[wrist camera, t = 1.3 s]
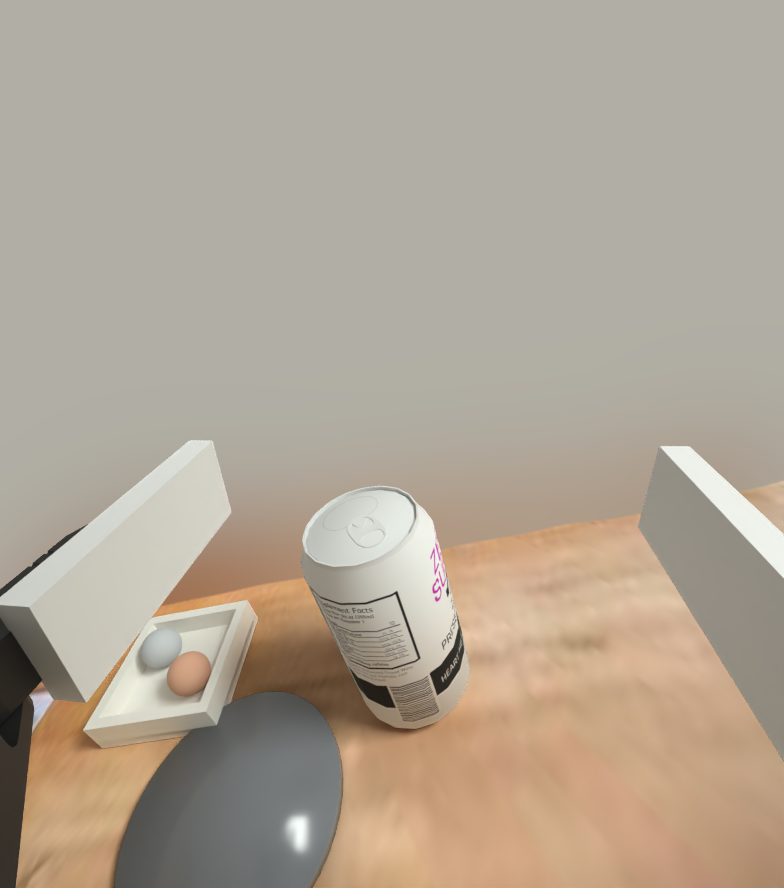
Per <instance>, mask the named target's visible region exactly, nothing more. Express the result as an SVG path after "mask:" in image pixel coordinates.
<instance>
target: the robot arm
mask: <svg viewBox="0 0 784 888" xmlns="http://www.w3.org/2000/svg"><path fill="white" fill-rule="evenodd" d="M230 514H231V508H230V504H229V501H228V497H227V493H226V489H225V486H224V482H223V478H222V474H221V470H220V467H219V463H218V460H217V455H216V452H215V448H214V444H213V441H208V440H203V441H202V440H200V441H199V440H190V441H188V442H187V443H186V444H185V445H184V446H183V447H181V448H180V449H179V450H178V451H176V452H175V453H174V454H173V455H172V456H170V457H169V458H168V459H167V460H166V461H165V462H163V463H162V464H161V465H160V466H158V467H157V468H156V469H155V470H153V471H152V472H151V473H150V474H149V475H147V476H146V477H145V478H144V479H143V480H141V481H140V482H139V483H138V484H137V485H135V486H134V487H133V488H132V489H130V490H129V491H128V492H127V493H126V494H124V495H123V496H122V497H121V498H120V499H118V500H117V501H116V502H115V503H114V504H112V505H111V506H110V507H109V508H107V509H106V510H105V511H104V512H103V513H102V514H100V515H99V516H98V517H97V518H95V519H94V520H93V521H92V522H91V523H89V524H87V525H86V526H84V527H82V528H80V529H78V530H77V531H75V532H73V533H71V534H69V535H67V536H66V537H64V538H63V539H62V540H61V541H59V542H58V543H57V544H56V545H55V546H53V547H52V548H51V549H50V550H49V551H48V553H47V554H43V555H42V556H41V557H40V558H38V559H37V560H36V561H35V562H34V563H33V565H32V567H27V568H26V569H25V570H24V571H22V572H21V573H20V574H19V575H18V576H16V577H15V578H14V579H13V580H11V581H10V582H9V583H8V584H6V585H5V586H4V587H3V588H1V589H0V888H15V887H16V877H17V868H18V858H19V849H20V839H21V830H22V820H23V810H24V801H25V791H26V782H27V772H28V763H29V753H30V744H31V734H32V725H33V715H34V705H33V701H32V699H31V698H30V696H29V694H30V693H31V692H32V691H33V690H34V689H35V688H36V687H37V685H38V684H39V683H40V682H41V681H42V683H43V684H44V686H45V687H46V689H47V690H48V692H49V693H50V695H51V696H52V698H53V699H55V700H64V701H74V702H84V703H87V701H88V700H89V699H90V697H91V696H92V695H93V693H94V692H95V691H96V689H97V688H98V687H99V685H100V684H101V683H102V682H103V680H104V679H105V678H106V676H107V675H108V674H109V672H110V671H111V670H112V668H113V667H114V666H115V664H116V663H117V662H118V661H119V659H120V658H121V657H122V655H123V654H124V653H125V651H126V650H127V649H128V647H129V646H130V645H131V643H132V642H133V641H134V640H135V638H136V637H137V636H138V634H139V633H140V632H141V630H142V629H143V628H144V626H145V625H146V624H147V623H148V621H149V620H150V619H151V617H152V616H153V615H154V613H155V612H156V611H157V609H158V608H159V607H160V605H161V604H162V602H164V600H165V599H166V597H167V596H168V595H169V594H170V592H171V591H172V589H173V588H174V587H175V586H176V584H177V583H178V582H179V581H180V579H181V578H182V577H183V575H184V574H185V572H186V571H187V570H188V569H189V567H190V566H191V565H192V563H193V562H194V561H195V559H196V558H197V557H198V555H199V554H200V553H201V552H202V550H203V549H204V548H205V546H206V545H207V544H208V542H209V541H210V540H211V539H212V537H213V536H214V534H215V533H216V532H217V531H218V529H219V528H220V527H221V525H222V524H223V523H224V521H225V520H226V519H227V517H228V516H229V515H230ZM638 527H639V529H640V531H641V532H642V534H643V535H644V537H645V539H646V540H647V542H648V543H649V545H650V547H651V548H652V550H653V552H654V553H655V555H656V556H657V558H658V560H659V561H660V563H661V564H662V566H663V568H664V569H665V571H666V573H667V574H668V576H669V577H670V579H671V581H672V582H673V584H674V585H675V587H676V589H677V590H678V592H679V593H680V595H681V597H682V598H683V600H684V602H685V603H686V605H687V606H688V608H689V610H690V611H691V613H692V614H693V616H694V618H695V619H696V621H697V623H698V624H699V626H700V627H701V629H702V631H703V632H704V634H705V635H706V637H707V639H708V640H709V642H710V643H711V645H712V647H713V648H714V650H715V652H716V653H717V655H718V656H719V658H720V660H721V661H722V663H723V664H724V666H725V668H726V669H727V671H728V673H729V674H730V676H731V677H732V679H733V681H734V682H735V684H736V685H737V687H738V689H739V690H740V692H741V694H742V695H743V697H744V698H745V700H746V702H747V703H748V705H749V706H750V708H751V710H752V711H753V713H754V714H755V716H756V718H757V719H758V721H759V723H760V724H761V726H762V727H763V729H764V731H765V732H766V734H767V735H768V737H769V739H770V740H771V742H772V744H773V745H774V747H775V748H776V750H777V752H778V753H779V755H780V756H781V758H782V760H783V761H784V534H783V533H782V532H781V531H780V530H779V529H778V528H777V527H775V526H774V525H773V524H772V523H771V522H770V521H769V520H768V519H767V518H766V517H765V516H764V515H763V514H761V513H760V512H759V511H758V510H757V509H756V508H755V507H754V506H753V505H752V504H751V503H750V502H749V501H748V500H746V499H745V498H744V497H743V496H742V495H741V494H740V493H739V492H738V491H737V490H736V489H735V488H734V487H732V486H731V485H730V484H729V483H728V482H727V481H726V480H725V479H724V478H723V477H722V476H721V475H720V474H718V473H717V472H716V471H715V470H714V469H713V468H712V467H711V466H710V465H709V464H708V463H706V461H704V460H703V459H702V458H701V457H700V456H699V455H698V454H697V453H696V452H695V451H694V450H693V449H692V448H691V447H687V446H659V449H658V453H657V457H656V461H655V464H654V468H653V472H652V476H651V479H650V483H649V487H648V491H647V495H646V498H645V502H644V506H643V510H642V514H641V517H640V521H639V525H638Z"/></svg>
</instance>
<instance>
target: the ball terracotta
mask: <svg viewBox="0 0 784 888" xmlns="http://www.w3.org/2000/svg"><path fill="white" fill-rule="evenodd" d="M210 674H211V665H210V662H209V660H208V658H207V657H206V656H205V655H204V654H203V653H200V652H197V651H189V652H186V653H183V654H181V655H180V656H178V657H177V658H176V659H175V660H174V661H173V662H172V664H171V665H170V667H169V669H168V672H167V684H168V687H169V688H170V690H171V691H172V692H173V693H174V694H176V695H178V696H191V695H194V694H196V693H197V692H199V691H200V690H201V689H202V688H203V687H204V686H205V685H206V683H207V682H208V680H209V677H210Z"/></svg>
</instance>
